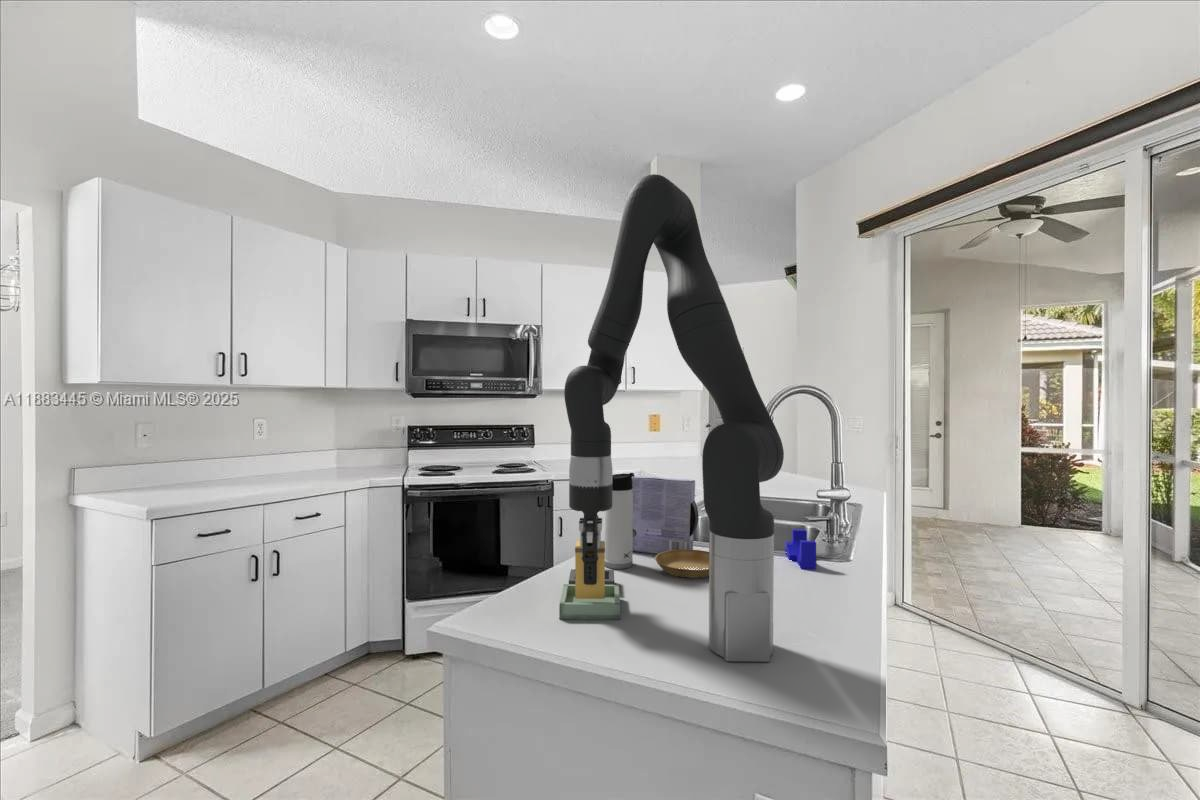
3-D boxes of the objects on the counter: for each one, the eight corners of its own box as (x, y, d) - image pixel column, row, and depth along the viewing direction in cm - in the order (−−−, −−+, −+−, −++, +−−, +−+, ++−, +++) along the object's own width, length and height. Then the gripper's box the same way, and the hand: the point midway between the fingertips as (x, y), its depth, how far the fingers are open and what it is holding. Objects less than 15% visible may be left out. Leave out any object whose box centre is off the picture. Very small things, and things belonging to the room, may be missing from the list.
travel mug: (634, 569, 124) (635, 475, 124) (603, 569, 124) (603, 475, 124) (633, 560, 130) (633, 471, 130) (603, 560, 131) (604, 471, 130)
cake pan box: (698, 552, 137) (698, 477, 137) (694, 558, 133) (694, 480, 132) (620, 545, 144) (620, 473, 144) (614, 550, 139) (614, 476, 139)
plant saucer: (732, 582, 117) (732, 569, 117) (658, 582, 117) (658, 569, 117) (717, 560, 132) (717, 549, 132) (652, 560, 132) (652, 549, 132)
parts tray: (619, 619, 97) (619, 604, 97) (559, 619, 97) (559, 604, 97) (618, 598, 107) (618, 584, 107) (563, 597, 107) (563, 584, 107)
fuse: (604, 599, 100) (604, 546, 100) (575, 598, 100) (575, 546, 100) (604, 591, 104) (604, 541, 104) (576, 591, 104) (576, 541, 104)
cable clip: (785, 554, 137) (785, 528, 137) (805, 555, 136) (805, 529, 136) (793, 569, 125) (794, 541, 125) (815, 570, 124) (816, 542, 124)
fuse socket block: (614, 594, 109) (614, 581, 109) (568, 594, 109) (568, 580, 109) (613, 582, 116) (613, 569, 116) (570, 581, 116) (570, 569, 116)
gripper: (612, 488, 95) (612, 594, 95) (612, 475, 109) (611, 568, 109) (566, 487, 95) (566, 594, 95) (571, 475, 109) (571, 568, 109)
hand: (590, 579), depth 102 cm, fingers closed on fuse, 3 cm apart
